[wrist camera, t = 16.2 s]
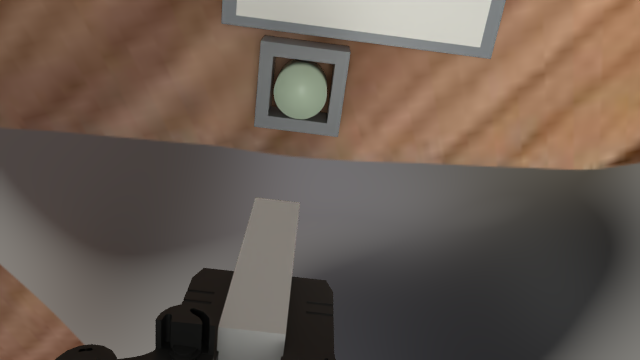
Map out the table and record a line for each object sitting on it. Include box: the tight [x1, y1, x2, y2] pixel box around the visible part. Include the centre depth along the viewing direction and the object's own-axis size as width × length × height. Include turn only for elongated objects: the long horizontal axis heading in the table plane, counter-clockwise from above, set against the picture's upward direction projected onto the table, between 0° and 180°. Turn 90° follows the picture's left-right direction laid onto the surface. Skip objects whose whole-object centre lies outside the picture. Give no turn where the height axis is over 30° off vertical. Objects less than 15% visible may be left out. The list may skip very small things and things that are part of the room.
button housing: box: [254, 35, 350, 137], centre depth 37 cm, size 6×6×2 cm
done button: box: [274, 59, 327, 119], centre depth 37 cm, size 4×4×3 cm
